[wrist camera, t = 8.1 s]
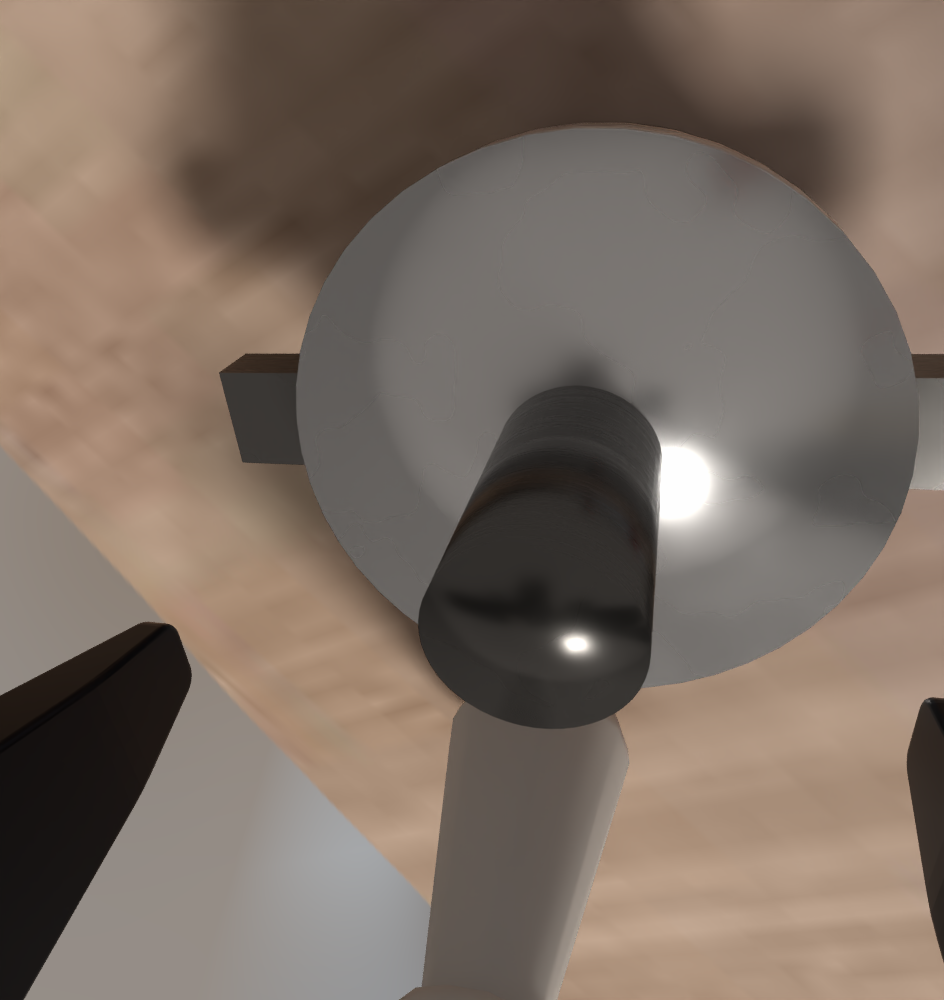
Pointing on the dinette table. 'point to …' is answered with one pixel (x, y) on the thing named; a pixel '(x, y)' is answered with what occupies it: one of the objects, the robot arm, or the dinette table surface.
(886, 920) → the dinette table surface
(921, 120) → the dinette table surface
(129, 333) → the dinette table surface
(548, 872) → the salt shaker
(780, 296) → the cooker lid
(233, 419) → the cooker pot
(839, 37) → the dinette table surface
